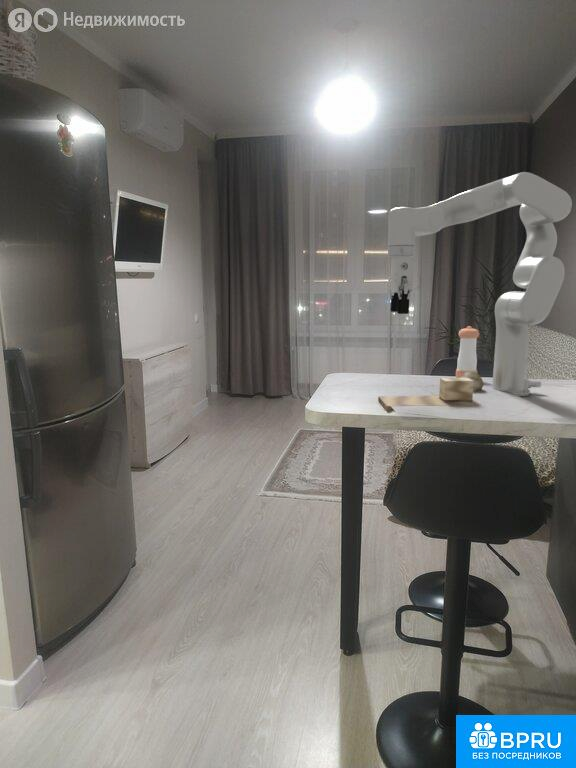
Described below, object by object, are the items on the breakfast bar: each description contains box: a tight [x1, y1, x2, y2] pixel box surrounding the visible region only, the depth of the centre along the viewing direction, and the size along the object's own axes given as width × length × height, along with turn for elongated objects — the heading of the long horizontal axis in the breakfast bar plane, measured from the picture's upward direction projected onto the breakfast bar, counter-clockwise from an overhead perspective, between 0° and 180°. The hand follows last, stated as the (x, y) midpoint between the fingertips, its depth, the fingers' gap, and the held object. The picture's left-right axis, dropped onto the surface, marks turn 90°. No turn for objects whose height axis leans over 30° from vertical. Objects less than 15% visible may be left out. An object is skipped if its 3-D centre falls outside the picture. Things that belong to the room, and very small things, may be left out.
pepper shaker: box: [455, 325, 480, 378], centre depth 183 cm, size 7×7×19 cm
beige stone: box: [460, 371, 484, 393], centre depth 161 cm, size 8×10×10 cm
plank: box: [377, 395, 481, 412], centre depth 147 cm, size 26×12×2 cm, turn 91°
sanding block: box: [438, 377, 474, 402], centre depth 146 cm, size 8×4×6 cm, turn 91°
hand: (399, 312), depth 151 cm, fingers open, 9 cm apart
